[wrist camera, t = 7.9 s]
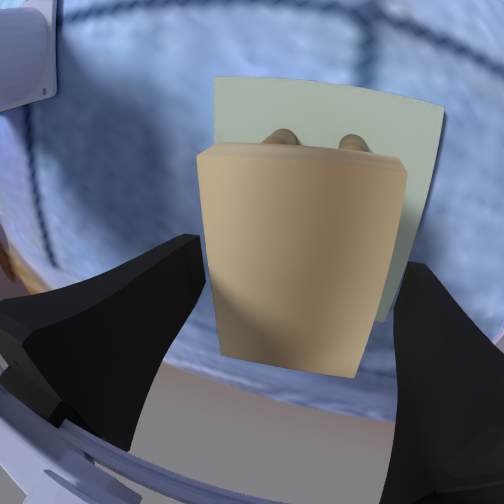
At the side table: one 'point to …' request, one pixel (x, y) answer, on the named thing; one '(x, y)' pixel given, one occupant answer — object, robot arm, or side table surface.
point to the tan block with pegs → (298, 247)
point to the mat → (340, 136)
